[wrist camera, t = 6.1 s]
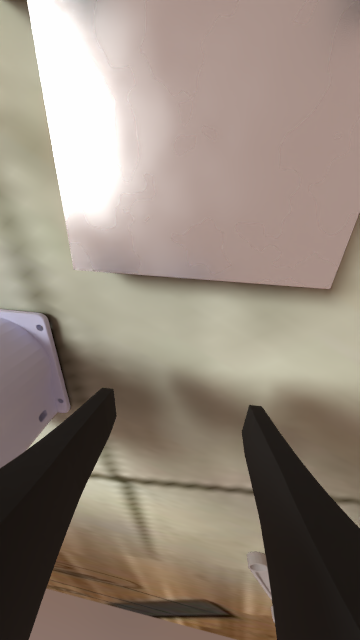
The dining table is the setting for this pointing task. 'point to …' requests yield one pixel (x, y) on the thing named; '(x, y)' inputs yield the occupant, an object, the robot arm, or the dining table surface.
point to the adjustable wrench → (260, 572)
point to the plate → (205, 134)
